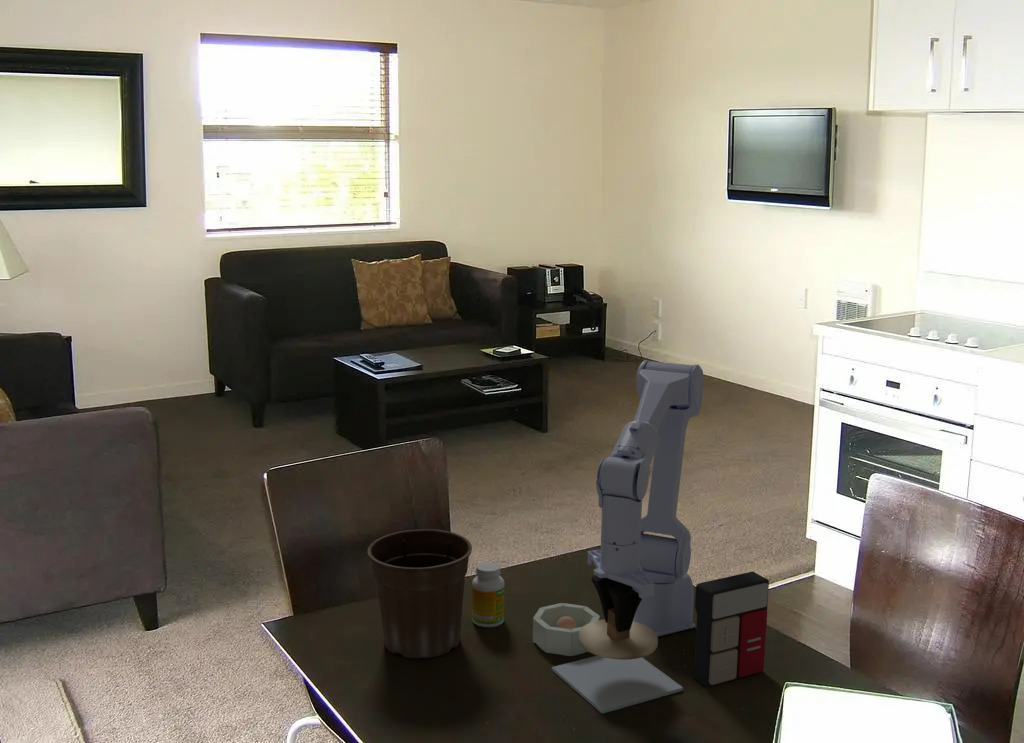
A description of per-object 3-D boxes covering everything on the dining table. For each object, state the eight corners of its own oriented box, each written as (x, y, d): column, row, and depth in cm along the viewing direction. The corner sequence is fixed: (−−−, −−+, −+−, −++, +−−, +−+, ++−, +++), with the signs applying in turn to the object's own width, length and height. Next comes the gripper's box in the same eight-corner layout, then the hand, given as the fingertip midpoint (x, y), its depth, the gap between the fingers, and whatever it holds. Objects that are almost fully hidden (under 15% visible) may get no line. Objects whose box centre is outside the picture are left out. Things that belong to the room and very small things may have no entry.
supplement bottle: (500, 629, 171) (500, 574, 169) (468, 626, 172) (468, 571, 170) (507, 615, 176) (507, 561, 174) (476, 612, 177) (476, 558, 175)
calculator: (708, 690, 152) (713, 594, 149) (690, 677, 156) (695, 583, 153) (767, 673, 157) (773, 580, 154) (748, 661, 161) (753, 570, 158)
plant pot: (384, 674, 156) (382, 573, 153) (359, 629, 171) (356, 536, 167) (486, 656, 162) (486, 558, 158) (453, 614, 176) (453, 523, 173)
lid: (628, 618, 161) (629, 589, 160) (673, 649, 151) (675, 618, 150) (564, 633, 156) (564, 603, 155) (606, 666, 146) (607, 634, 145)
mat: (628, 650, 164) (628, 647, 164) (682, 690, 152) (683, 687, 152) (551, 670, 157) (551, 667, 157) (602, 713, 145) (602, 710, 145)
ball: (569, 629, 169) (570, 611, 168) (579, 637, 166) (580, 619, 166) (552, 633, 168) (552, 615, 167) (562, 641, 165) (563, 623, 164)
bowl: (576, 621, 174) (576, 599, 173) (609, 646, 165) (610, 623, 164) (523, 634, 169) (524, 611, 168) (554, 660, 161) (555, 636, 160)
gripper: (570, 526, 154) (569, 612, 157) (625, 560, 142) (622, 652, 145) (610, 519, 158) (608, 603, 160) (668, 551, 145) (664, 641, 148)
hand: (617, 625), depth 153 cm, fingers closed on lid, 2 cm apart
